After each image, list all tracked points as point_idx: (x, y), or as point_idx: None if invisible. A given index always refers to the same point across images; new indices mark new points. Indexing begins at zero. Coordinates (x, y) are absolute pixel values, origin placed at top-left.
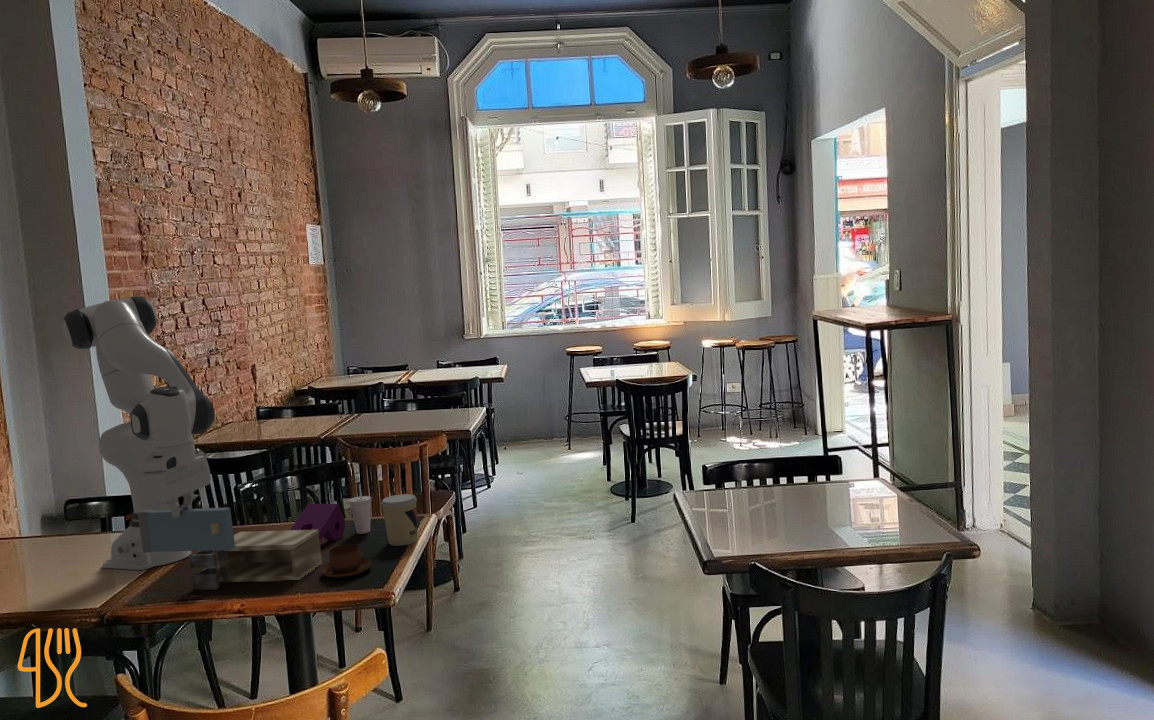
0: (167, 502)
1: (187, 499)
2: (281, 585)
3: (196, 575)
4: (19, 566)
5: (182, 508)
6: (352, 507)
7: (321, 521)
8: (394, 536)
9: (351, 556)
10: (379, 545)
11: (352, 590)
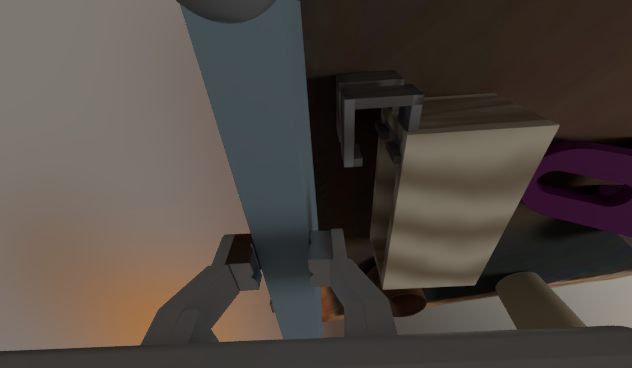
0: (157, 323)
1: (348, 296)
2: (351, 226)
3: (340, 96)
4: None
5: (310, 246)
6: None
7: (619, 223)
8: (505, 295)
9: None
10: (511, 266)
11: (329, 298)
